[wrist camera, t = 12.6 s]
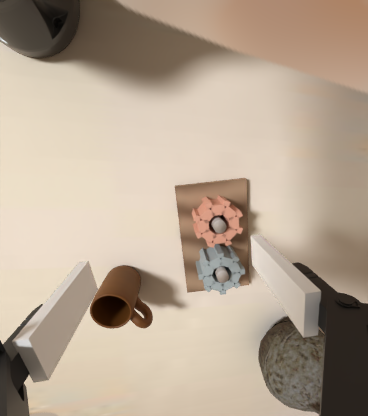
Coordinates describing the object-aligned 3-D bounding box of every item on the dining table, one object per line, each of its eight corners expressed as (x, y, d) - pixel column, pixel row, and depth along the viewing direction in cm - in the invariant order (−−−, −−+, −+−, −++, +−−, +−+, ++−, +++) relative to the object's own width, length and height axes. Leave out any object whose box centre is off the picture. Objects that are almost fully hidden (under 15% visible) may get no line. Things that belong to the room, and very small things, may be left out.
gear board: (174, 185, 38) (175, 192, 31) (244, 178, 38) (260, 182, 31) (187, 288, 44) (189, 313, 37) (246, 281, 45) (260, 304, 38)
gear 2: (189, 254, 41) (191, 267, 36) (225, 235, 40) (232, 246, 35) (207, 284, 43) (211, 300, 38) (242, 267, 42) (251, 281, 37)
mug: (164, 284, 44) (162, 317, 35) (146, 308, 45) (139, 346, 36) (118, 258, 41) (102, 286, 32) (100, 283, 43) (80, 317, 34)
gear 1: (190, 197, 38) (192, 203, 33) (233, 193, 38) (242, 198, 33) (193, 238, 40) (196, 249, 35) (235, 234, 40) (243, 244, 35)
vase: (265, 300, 46) (420, 540, 17) (327, 315, 48) (559, 552, 19) (239, 352, 50) (330, 623, 21) (298, 365, 52) (455, 625, 23)
